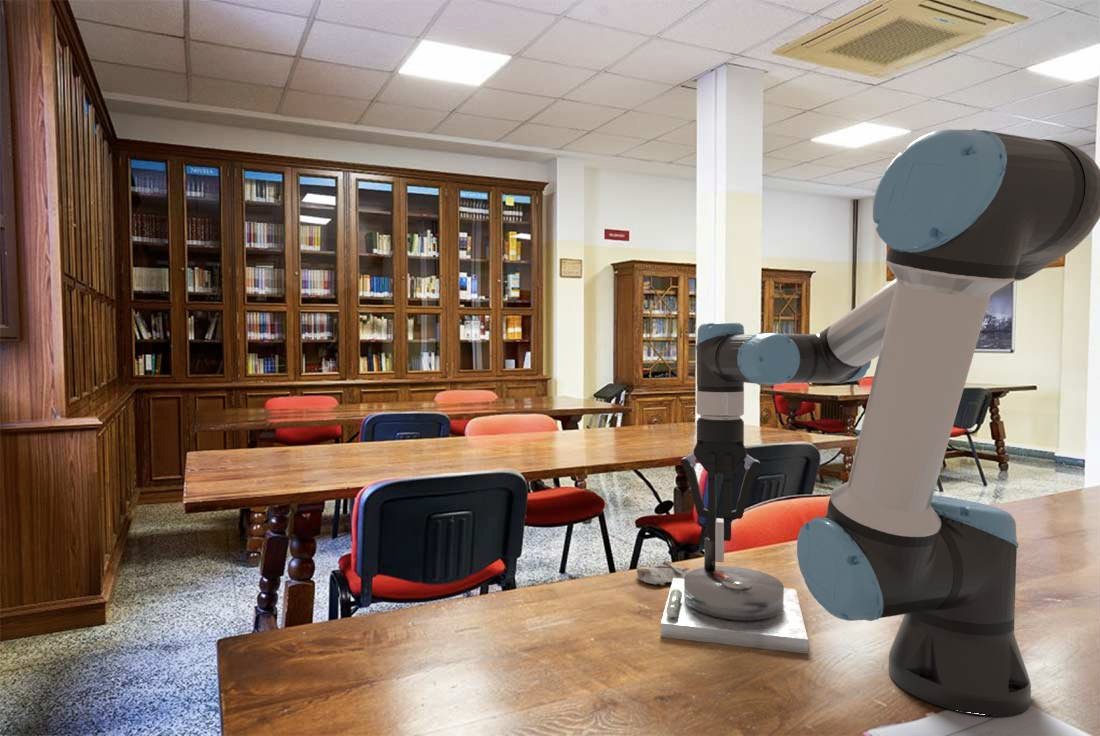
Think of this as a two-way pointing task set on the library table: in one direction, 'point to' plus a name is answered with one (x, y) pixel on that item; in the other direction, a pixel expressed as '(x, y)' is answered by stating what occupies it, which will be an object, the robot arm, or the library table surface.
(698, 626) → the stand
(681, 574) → the stone
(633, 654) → the library table surface
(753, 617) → the crank handle wheel
